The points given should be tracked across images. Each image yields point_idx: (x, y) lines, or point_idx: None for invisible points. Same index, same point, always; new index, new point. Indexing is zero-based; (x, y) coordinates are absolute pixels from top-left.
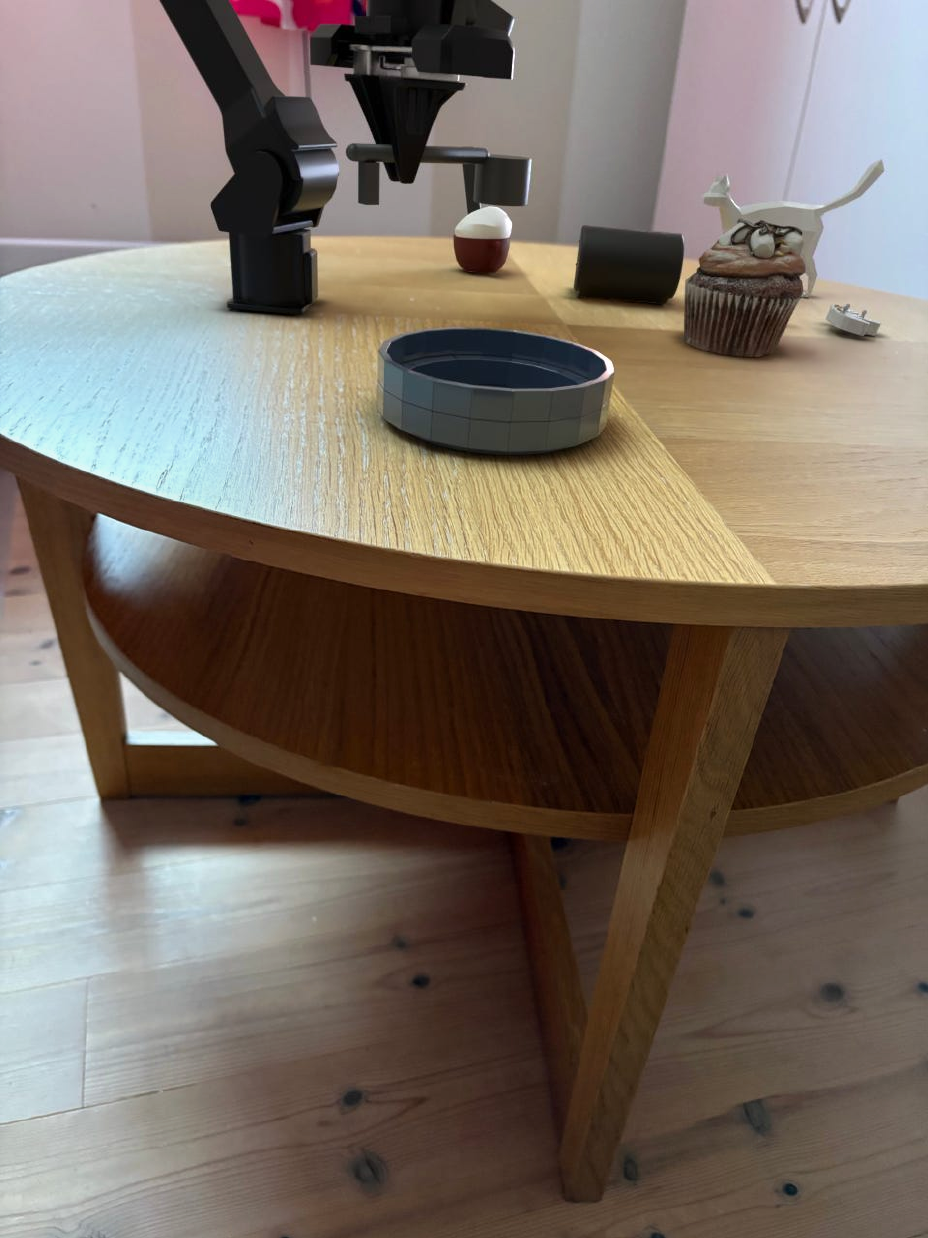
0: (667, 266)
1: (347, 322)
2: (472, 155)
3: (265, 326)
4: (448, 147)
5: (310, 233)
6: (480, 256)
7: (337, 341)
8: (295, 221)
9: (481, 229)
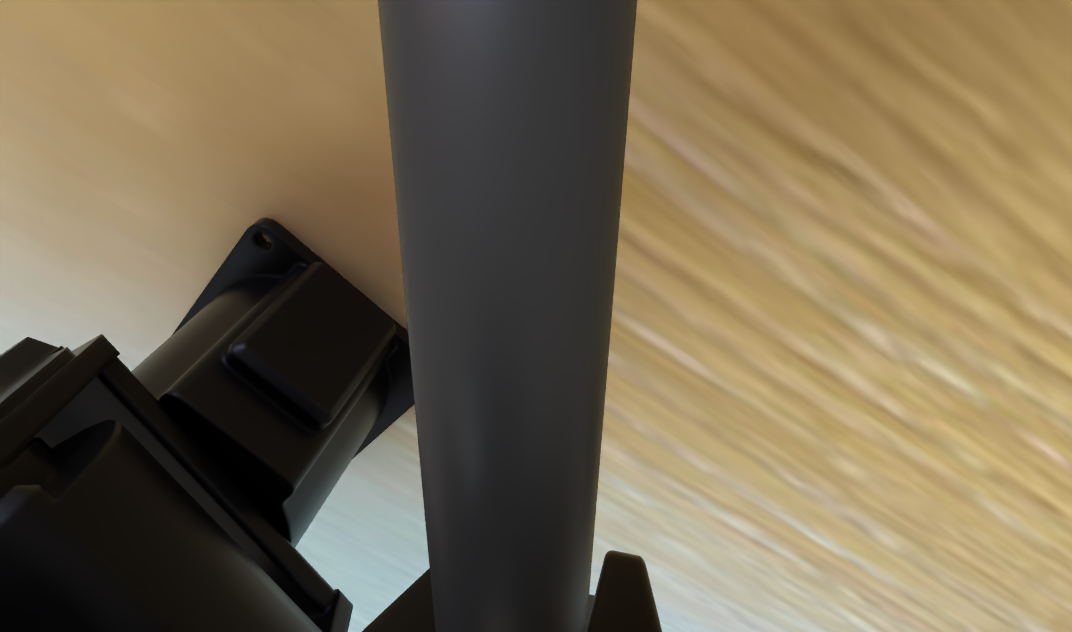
0: None
1: None
2: (631, 25)
3: None
4: (529, 440)
5: (189, 391)
6: None
7: (734, 441)
8: (179, 472)
9: None
